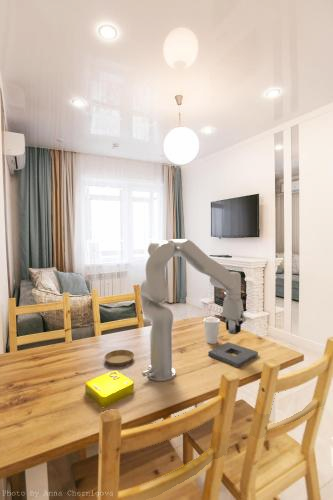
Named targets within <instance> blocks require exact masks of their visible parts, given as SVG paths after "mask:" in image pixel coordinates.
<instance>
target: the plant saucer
mask: <svg viewBox="0 0 333 500" xmlns="http://www.w3.org/2000/svg"><path fill="white" fill-rule="evenodd" d="M134 357H135V353H134V352H133V351H131V350H127V349H116V350H112V351H109V352H107V353H106V354H105V355H104V361H106V362H107V363H108V364H109V365H112V366H116V367H117V366H118V367H119V366H125V365H128V363H130V362H131V361H132V360H133V359H134Z"/></svg>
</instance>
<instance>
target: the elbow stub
mask: <svg viewBox="0 0 333 500" xmlns="http://www.w3.org/2000/svg"><path fill="white" fill-rule="evenodd" d="M236 325H237V323H236V320H233V319H230V318H228V330H227V331H228V334H230V335H238V334H239V333H236Z"/></svg>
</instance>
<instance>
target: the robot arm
mask: <svg viewBox="0 0 333 500" xmlns="http://www.w3.org/2000/svg"><path fill="white" fill-rule="evenodd" d="M147 253H148V255H149V257H148V259H147V261H146V264H145V280H143V282H142V283H141V285H140V287H139V293H140V301H141V306H142V307H141V309H142V314H143V315H144V318H145V319H146V320H148V322H150V323H151V328H150V337H149V338H150V339H149V340H150V341H149V342H150V343H149V344H150V365H149V366H148V369H147V370H145V371H143V372H142V373H141V374H142V377H148V378H149V379H150V380H152V381H155V382H167V381H170V380H172V379H173V378H174V377H175V376H176V369H174V368H173V358H172V357H173V355H172V354H173V353H172V352H173V351H172V349H173V345H172V344H173V343H172V341H173V339H172V333H173V331H172V329H173V325H174V324H173V323H174V314H173V311H172V310H171V308H170V307H168V306H167V305H165V304H163V302H165V301H166V300H167V298H168V285H167V278H166V268H167V264H168V263H169V261H170V260H171V259H172V258H174V257H181V258H182V259H184V260H185V262H187V263H188V264H189V265H190V266H191V267H192V268H193V269H195V270H196V271H198V272H199V273H201V274H203V275H207V276H208V277H209V283H210V284H211V285H212V286H213V287H216V288H219V289H222V290H225V292H223V295H224V296H225V297H224V298H223V303H222V312H221V313H220V315H221V317H222V319H223V320H224V322H225V328H226V331H228V318H230V319H233V320H236V323H237V325H236V333H238V334H239V333H241V330H242V329H241V328H242V324H243V323H245V322H246V321H247V320H248V319H247V318H246V316H245V314H244V312H245V311H244V305H243V299H242V296H241V295H242V293H241V292H242V291H241V288H242V277H241V276H242V275H241V273H240V272H238V271H230V270H228V269H227V268H226V267H225V266H223V265H222V264H220V263H218V262H217V261H216V260H214V259H213V258H211V257H209V256H208V255H207V254H206V253H205V252H204V251H203V250H202V249H200V248H199V246H197V245H196V244H195V243H194V242H193V240H191V239H189V238H188V239H187V238H183V239H182V238H176V239H165V240H154V241H152V242H151V243H149V245H148V247H147Z"/></svg>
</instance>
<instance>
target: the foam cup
mask: <svg viewBox="0 0 333 500" xmlns="http://www.w3.org/2000/svg"><path fill="white" fill-rule="evenodd" d="M203 326H204V327H203V328H204V334H205V340H206V343H207V344H211V345H212V344H214V345H215V344H217V343H218V340H219V331H220V326H221V319H220V318H218V317H213V316H212V317H209V316H208V317H204V318H203Z"/></svg>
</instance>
